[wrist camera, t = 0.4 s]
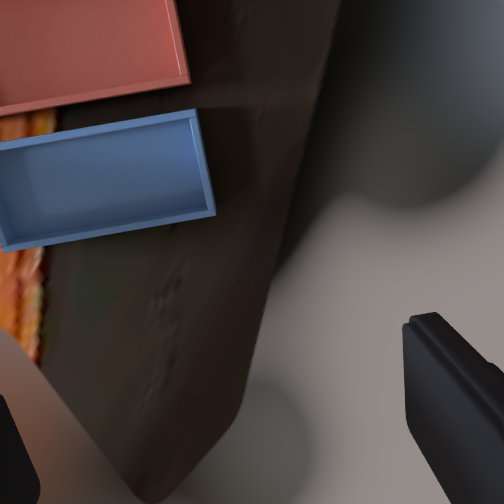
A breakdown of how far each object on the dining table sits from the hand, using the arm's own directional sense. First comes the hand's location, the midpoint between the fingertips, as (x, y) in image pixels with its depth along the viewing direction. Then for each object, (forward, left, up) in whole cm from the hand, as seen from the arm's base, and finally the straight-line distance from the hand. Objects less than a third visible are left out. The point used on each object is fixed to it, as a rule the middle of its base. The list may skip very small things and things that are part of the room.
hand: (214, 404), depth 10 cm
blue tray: (-2, -10, -30) cm, 31 cm away
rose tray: (-12, -10, -30) cm, 34 cm away
